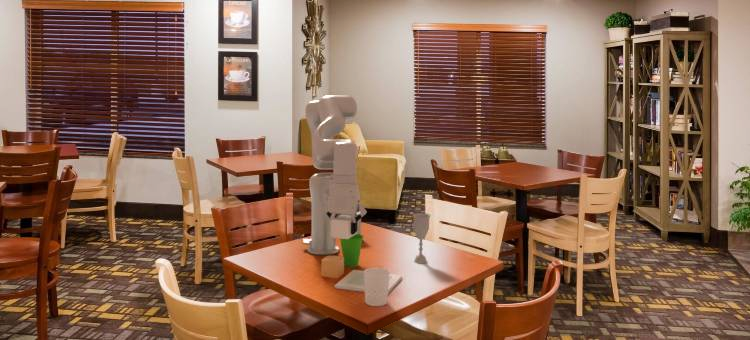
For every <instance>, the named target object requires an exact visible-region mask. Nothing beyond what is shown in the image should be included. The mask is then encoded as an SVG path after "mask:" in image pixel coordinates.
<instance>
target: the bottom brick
mask: <svg viewBox="0 0 750 340" xmlns="http://www.w3.org/2000/svg"><path fill="white" fill-rule="evenodd" d="M351 223H352V219H351V216H348V215H340V214H338V216H337V217H335V218H333V219H331V237H332V238H335V239H340V238H341V239H349V238H351V237H352V236H354V235H356V234H357V232H356V233H355V234H353V235H351Z"/></svg>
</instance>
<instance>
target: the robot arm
mask: <svg viewBox="0 0 750 340" xmlns="http://www.w3.org/2000/svg"><path fill="white" fill-rule="evenodd" d="M304 109H305V118H306V123H307V126H308V128H309V131H310V135H311V136H310V137H311V157H312V161H311V162H312V165H313V167H314V168H316V169H317V170H332V171H333V172H317V173H314V174H313V175H312V176H311V177H310V178H309V181H308V183H309V191H310V192H309V193H310V202H311V238H310V239H308V238H303V240H302V244H303V246H309V247H307V252H308V253H310V254H312V255H318V256H328V255H329V256H331V255H334V254H336V253H339V252H340V247H339V246H338V245H336V238H332V237H331V219H333V218H335V217H337V216H339V215H340V214H346V215H350V216H351V219H352V223H351V235H353V234H355V233H356V232H357V221H359V220H360V219H361V220H362V218H363V217H364V216H365V215H366V214H367V210H366V208H365V207H364V206H363V205H362V204H361V195H360V189H359V185H358V183H357V153H358V146H357V143H355V141H354V140H353V139H349V138H347V139H346V138H345V139H344V138H343V139H340V138H337V139H336V138H334V137H336V136H338V135H339V134H341V133H342V132H343V131H344V130H345V129H346V123H347V122H350V121H352V120H353V119H354V118H355V117H356V115H357V111H358V105H357V102H356V100H355V98H354V97H353V96H350V95H336V94H335V95H333V94H332V95H325V96H322V97H320V99H318V100H313V101H309V102H307V104H306V105H305V108H304ZM357 212H361V213H360V214H359V215H357Z"/></svg>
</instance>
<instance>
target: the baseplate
mask: <svg viewBox="0 0 750 340" xmlns="http://www.w3.org/2000/svg"><path fill="white" fill-rule="evenodd" d="M402 279H403V275H401V274H393V273H390V274H389V288H388V294H389V293H390V292H392V290H393V289H394V288H395V286H396V285H398V283H400V281H401V280H402ZM334 288H335V289H338V290H339V289H340V290H346V291H347V290H349V291H355V292H362V293H363V292H364V293H365V288H364V270H359V269H358V270H357V269H353V270H351V271H350V272H349V273H348V274H346V276H344V277H343V278H342V279H341V280H339V281H338V282H337V283H336V284H334Z"/></svg>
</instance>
